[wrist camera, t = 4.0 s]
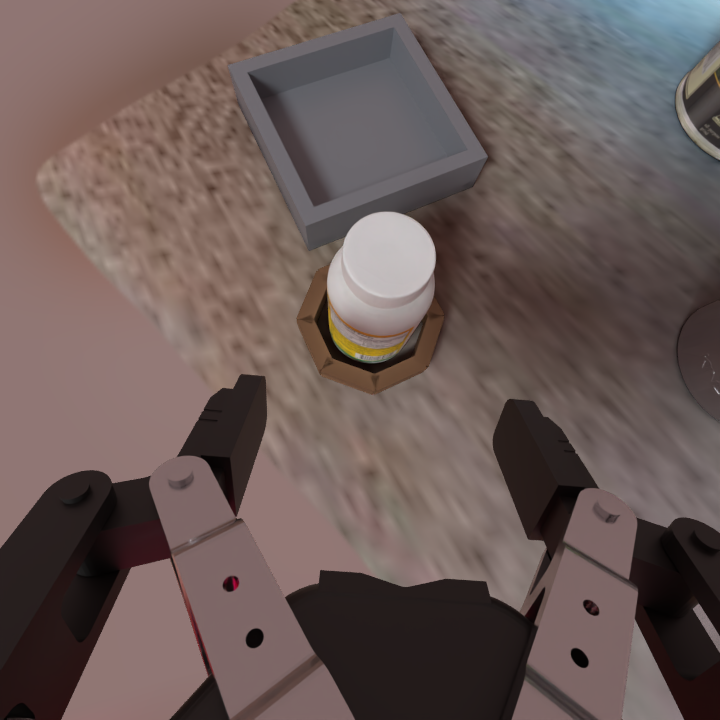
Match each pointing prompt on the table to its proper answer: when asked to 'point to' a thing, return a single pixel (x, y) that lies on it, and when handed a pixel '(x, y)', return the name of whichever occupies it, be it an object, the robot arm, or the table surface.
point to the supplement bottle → (380, 286)
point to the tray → (356, 127)
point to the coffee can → (702, 103)
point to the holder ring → (353, 374)
